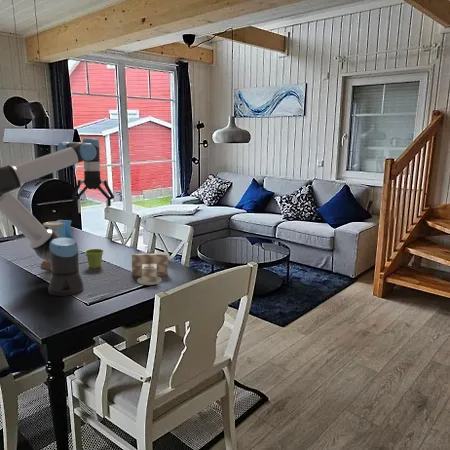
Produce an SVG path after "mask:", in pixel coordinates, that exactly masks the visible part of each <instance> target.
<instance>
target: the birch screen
mask: <svg viewBox="0 0 450 450" xmlns="http://www.w3.org/2000/svg"><path fill="white" fill-rule="evenodd" d="M168 257H169V256H168V253H132V254H131V277H142V264H157V276H158V277H161V276H168V272H169V271H168V264H169V263H168V262H169V261H168Z"/></svg>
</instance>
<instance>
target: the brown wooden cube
mask: <svg viewBox="0 0 450 450" xmlns="http://www.w3.org/2000/svg"><path fill="white" fill-rule="evenodd" d="M141 277H142V282H157V264H142V276H141Z"/></svg>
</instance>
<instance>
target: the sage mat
mask: <svg viewBox="0 0 450 450" xmlns="http://www.w3.org/2000/svg"><path fill="white" fill-rule="evenodd" d="M136 281H137V283H138V284H140V285H143V286H153V285H158V284H160V283H162V281H163V280H162V277H161V276H157V282H142V276H139V277H138V278H137V279H136Z"/></svg>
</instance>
